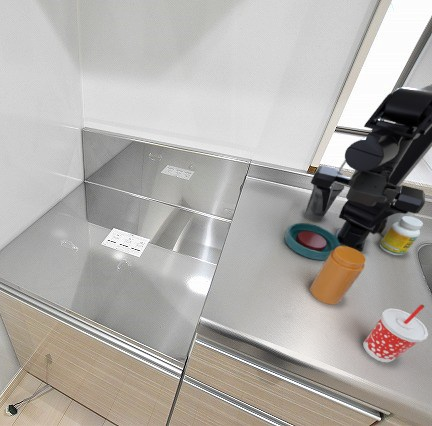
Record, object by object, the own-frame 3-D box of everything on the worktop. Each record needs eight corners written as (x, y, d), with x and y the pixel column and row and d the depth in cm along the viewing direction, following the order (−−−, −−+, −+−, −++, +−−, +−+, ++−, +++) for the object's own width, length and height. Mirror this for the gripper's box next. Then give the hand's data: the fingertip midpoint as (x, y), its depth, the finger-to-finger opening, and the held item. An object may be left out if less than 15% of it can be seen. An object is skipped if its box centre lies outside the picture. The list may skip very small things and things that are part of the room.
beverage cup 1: (301, 207, 94) (327, 148, 82) (328, 214, 90) (359, 154, 78) (297, 218, 89) (324, 158, 77) (325, 227, 85) (358, 165, 73)
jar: (310, 279, 70) (333, 241, 63) (340, 290, 67) (367, 251, 60) (308, 297, 66) (332, 258, 59) (340, 309, 63) (369, 270, 56)
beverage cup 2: (369, 330, 59) (409, 285, 51) (405, 356, 55) (455, 312, 46) (351, 344, 57) (390, 299, 49) (387, 373, 53) (437, 329, 44)
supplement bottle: (383, 239, 81) (403, 211, 75) (407, 250, 77) (430, 222, 71) (375, 247, 78) (395, 219, 72) (399, 259, 75) (422, 230, 69)
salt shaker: (396, 229, 84) (424, 191, 76) (405, 242, 79) (436, 203, 72) (372, 226, 85) (397, 188, 77) (379, 238, 81) (406, 199, 73)
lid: (330, 251, 76) (332, 247, 75) (304, 253, 76) (307, 248, 75) (314, 234, 82) (316, 230, 81) (290, 236, 82) (292, 231, 81)
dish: (290, 225, 86) (294, 217, 84) (338, 243, 80) (343, 235, 78) (278, 247, 79) (281, 239, 77) (330, 268, 72) (335, 260, 71)
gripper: (319, 158, 58) (292, 219, 68) (447, 188, 49) (395, 255, 58) (330, 140, 65) (304, 198, 74) (444, 164, 55) (398, 228, 65)
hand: (346, 218), depth 68 cm, fingers open, 9 cm apart
